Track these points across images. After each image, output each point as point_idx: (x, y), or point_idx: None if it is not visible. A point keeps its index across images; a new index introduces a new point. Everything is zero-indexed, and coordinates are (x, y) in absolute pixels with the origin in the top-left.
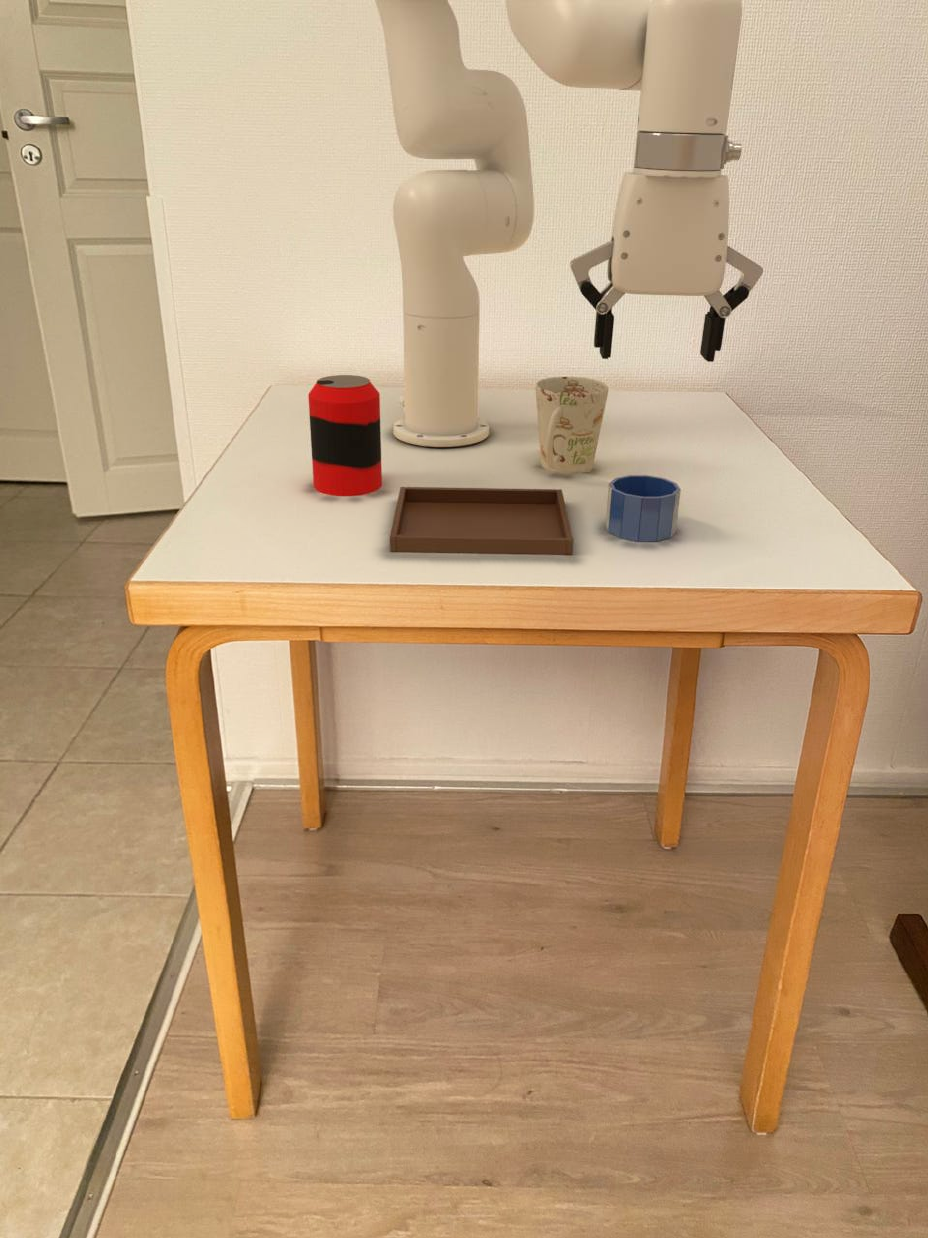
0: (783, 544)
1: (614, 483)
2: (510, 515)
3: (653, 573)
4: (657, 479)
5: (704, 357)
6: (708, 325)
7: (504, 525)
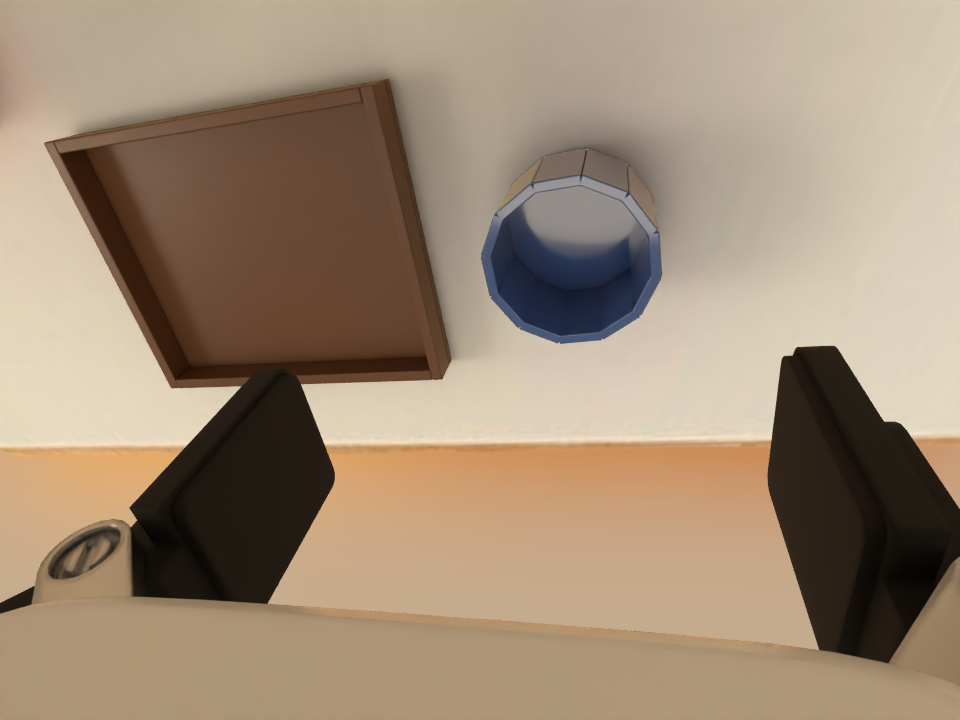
0: (916, 242)
1: (494, 246)
2: (300, 192)
3: (588, 397)
4: (610, 195)
5: (771, 454)
6: (822, 586)
7: (306, 250)
